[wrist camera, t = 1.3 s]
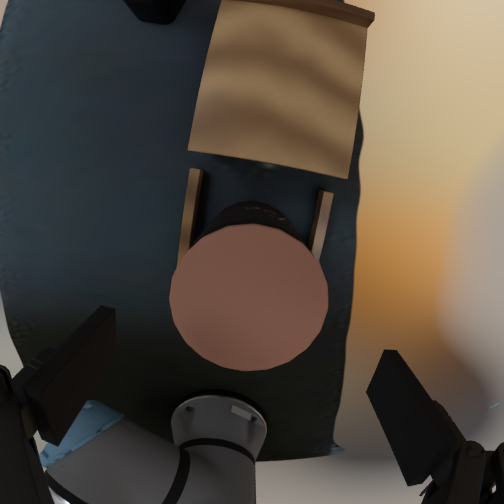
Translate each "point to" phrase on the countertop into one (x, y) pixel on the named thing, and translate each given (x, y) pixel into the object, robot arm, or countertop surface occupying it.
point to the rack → (280, 94)
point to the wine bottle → (155, 10)
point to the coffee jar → (249, 290)
